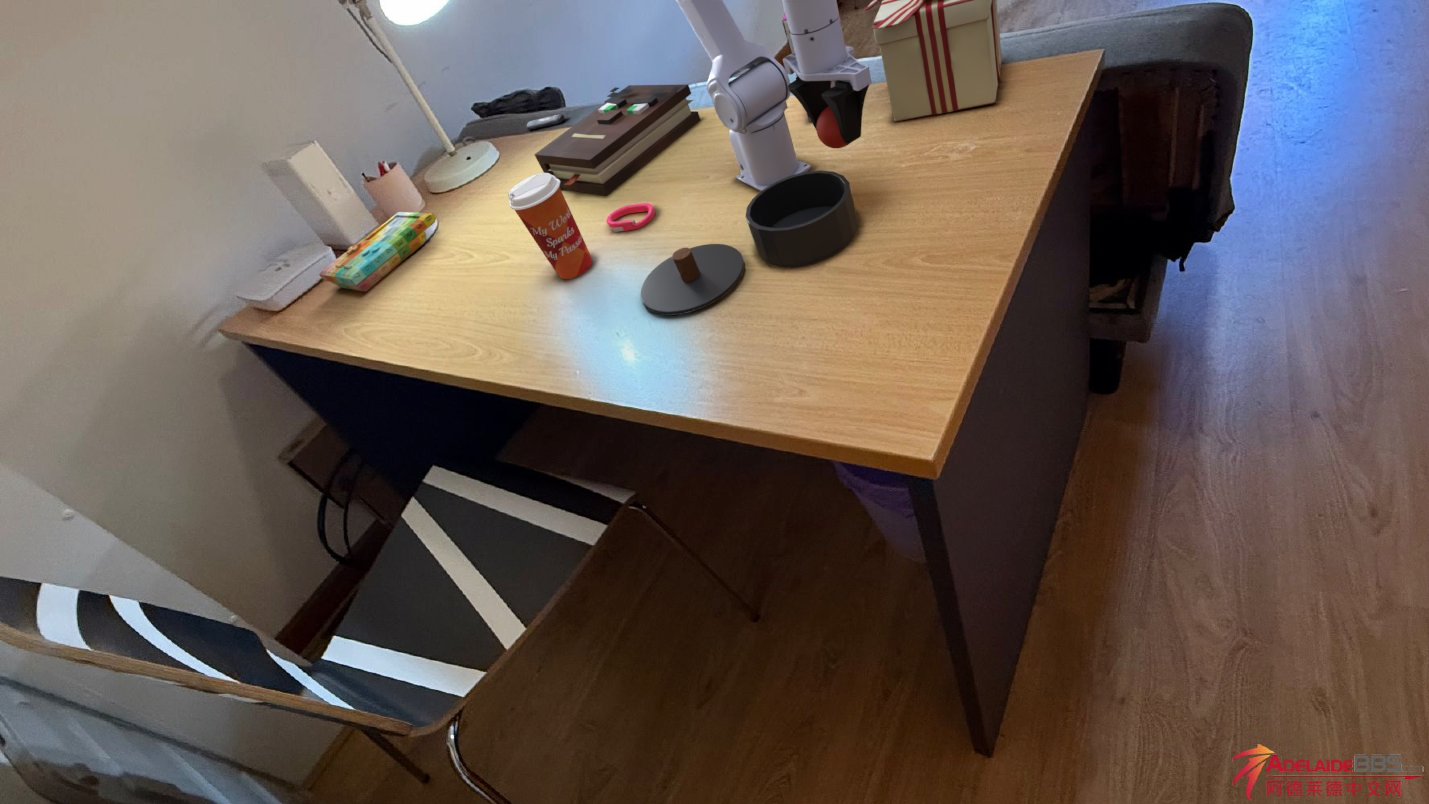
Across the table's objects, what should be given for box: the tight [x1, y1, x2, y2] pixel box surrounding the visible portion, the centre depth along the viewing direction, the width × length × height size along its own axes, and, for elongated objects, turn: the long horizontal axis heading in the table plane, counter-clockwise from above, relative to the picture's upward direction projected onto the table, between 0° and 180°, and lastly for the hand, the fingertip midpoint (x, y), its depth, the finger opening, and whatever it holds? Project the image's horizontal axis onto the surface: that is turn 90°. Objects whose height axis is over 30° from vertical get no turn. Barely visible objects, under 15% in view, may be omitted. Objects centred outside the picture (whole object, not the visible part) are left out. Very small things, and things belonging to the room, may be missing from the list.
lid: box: [640, 243, 745, 316], centre depth 92 cm, size 14×14×5 cm
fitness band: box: [606, 202, 656, 233], centre depth 112 cm, size 8×6×2 cm
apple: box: [815, 106, 850, 149], centre depth 89 cm, size 5×5×6 cm
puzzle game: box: [318, 211, 437, 293], centre depth 133 cm, size 12×5×20 cm
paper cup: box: [507, 172, 593, 280], centre depth 103 cm, size 8×8×14 cm
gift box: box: [862, 0, 1003, 123], centre depth 102 cm, size 17×18×17 cm
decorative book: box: [533, 84, 702, 197], centre depth 130 cm, size 19×8×30 cm
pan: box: [745, 169, 859, 269], centre depth 91 cm, size 13×13×6 cm
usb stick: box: [526, 113, 565, 131], centre depth 160 cm, size 10×3×2 cm, turn 72°
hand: (839, 135), depth 90 cm, fingers closed on apple, 5 cm apart
